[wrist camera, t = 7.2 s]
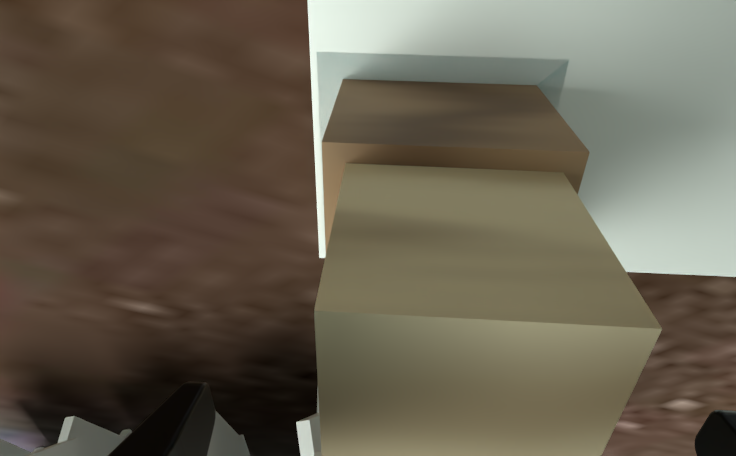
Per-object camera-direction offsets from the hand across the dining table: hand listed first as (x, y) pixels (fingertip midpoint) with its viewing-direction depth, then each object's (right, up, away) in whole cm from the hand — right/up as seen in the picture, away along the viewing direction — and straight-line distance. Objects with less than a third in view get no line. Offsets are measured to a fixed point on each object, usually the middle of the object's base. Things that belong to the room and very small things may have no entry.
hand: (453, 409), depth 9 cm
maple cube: (0, +3, +4) cm, 5 cm away
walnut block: (+1, +5, +8) cm, 10 cm away
